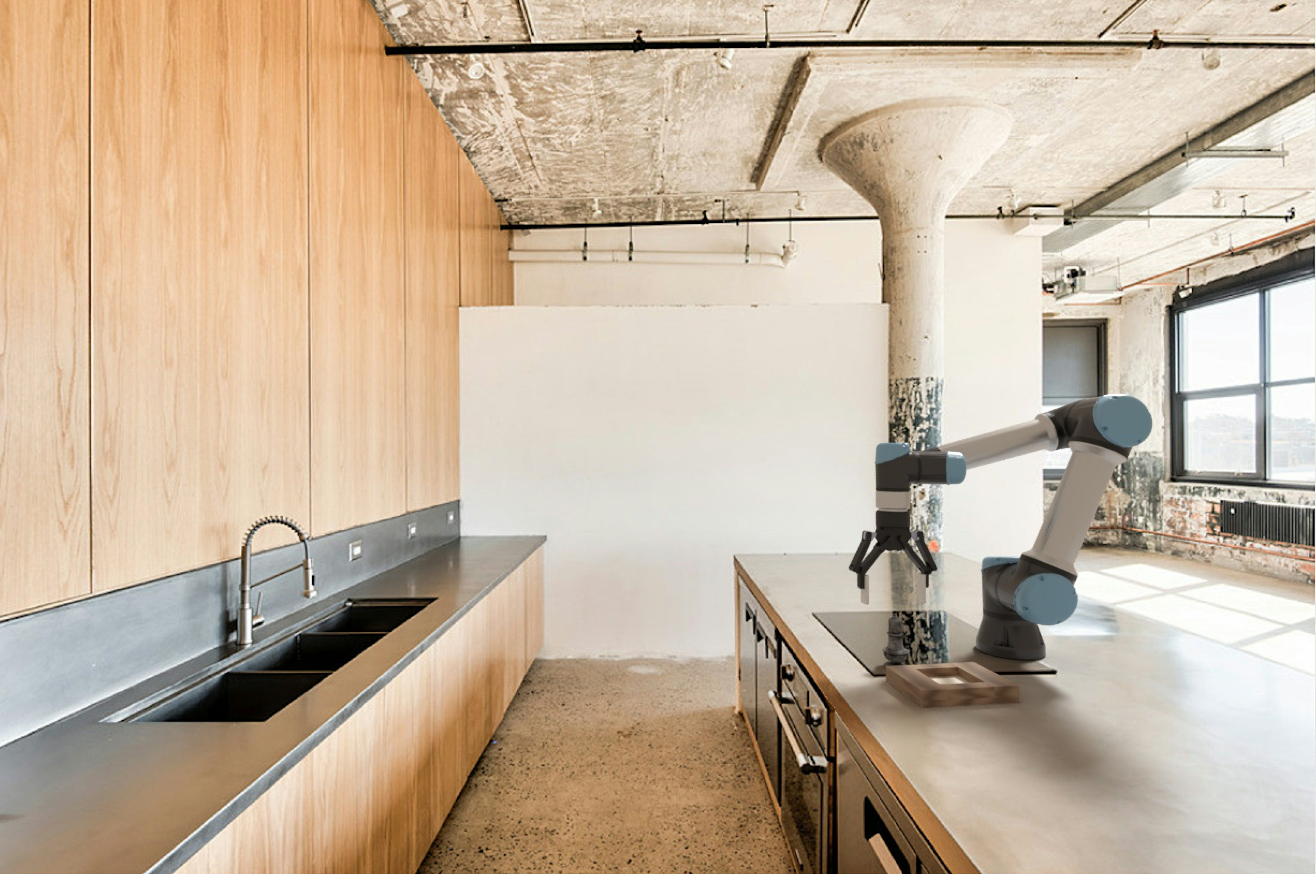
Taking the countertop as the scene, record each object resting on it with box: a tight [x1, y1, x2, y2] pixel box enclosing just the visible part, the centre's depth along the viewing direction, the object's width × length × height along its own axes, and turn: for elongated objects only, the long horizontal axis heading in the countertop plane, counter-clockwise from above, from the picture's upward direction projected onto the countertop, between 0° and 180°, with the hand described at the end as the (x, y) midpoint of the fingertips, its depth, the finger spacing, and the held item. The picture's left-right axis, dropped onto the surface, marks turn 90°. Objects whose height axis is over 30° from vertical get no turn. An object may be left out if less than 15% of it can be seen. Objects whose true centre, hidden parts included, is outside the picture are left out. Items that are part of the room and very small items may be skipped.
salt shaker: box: [881, 613, 910, 667], centre depth 151 cm, size 6×6×12 cm
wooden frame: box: [885, 661, 1021, 708], centre depth 134 cm, size 20×15×3 cm
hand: (893, 602), depth 151 cm, fingers open, 13 cm apart
